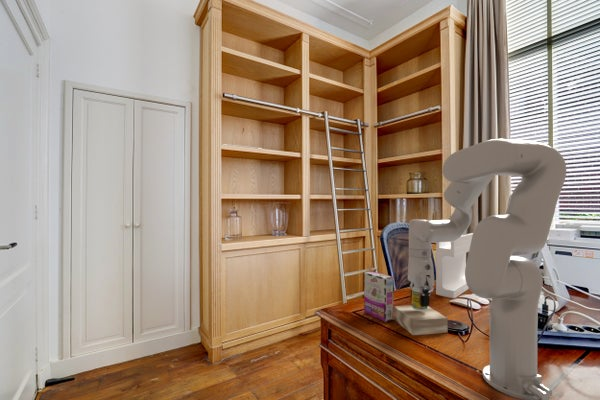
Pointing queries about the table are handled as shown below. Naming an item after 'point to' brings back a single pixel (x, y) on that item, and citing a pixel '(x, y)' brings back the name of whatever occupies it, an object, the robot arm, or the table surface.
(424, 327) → the base block
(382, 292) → the candy bar box
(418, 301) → the supplement bottle
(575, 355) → the table surface
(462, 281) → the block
